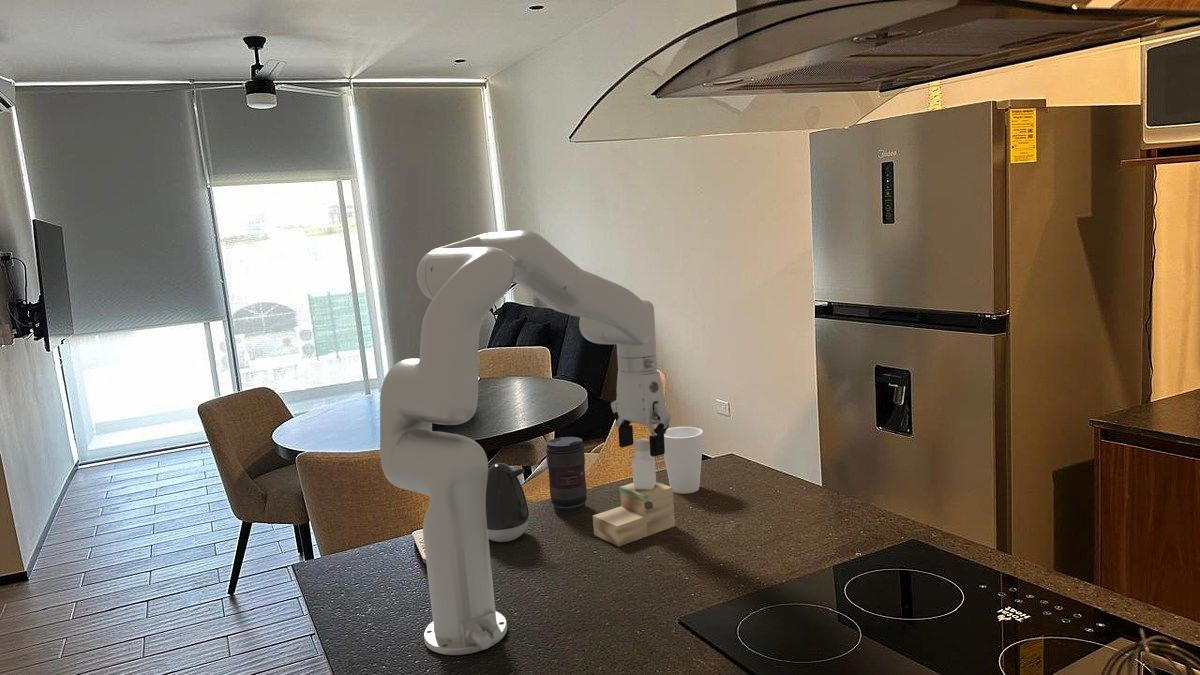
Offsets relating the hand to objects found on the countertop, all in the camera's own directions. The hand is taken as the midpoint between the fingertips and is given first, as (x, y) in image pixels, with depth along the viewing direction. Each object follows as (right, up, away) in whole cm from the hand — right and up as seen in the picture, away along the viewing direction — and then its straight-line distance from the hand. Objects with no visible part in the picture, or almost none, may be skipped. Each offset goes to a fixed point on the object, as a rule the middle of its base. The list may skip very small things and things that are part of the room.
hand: (641, 450), depth 163 cm
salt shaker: (+1, -8, +2) cm, 8 cm away
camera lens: (-15, -15, +16) cm, 26 cm away
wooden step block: (-1, -16, +1) cm, 16 cm away
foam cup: (+11, -12, +23) cm, 28 cm away
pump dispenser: (-27, -18, +2) cm, 32 cm away
